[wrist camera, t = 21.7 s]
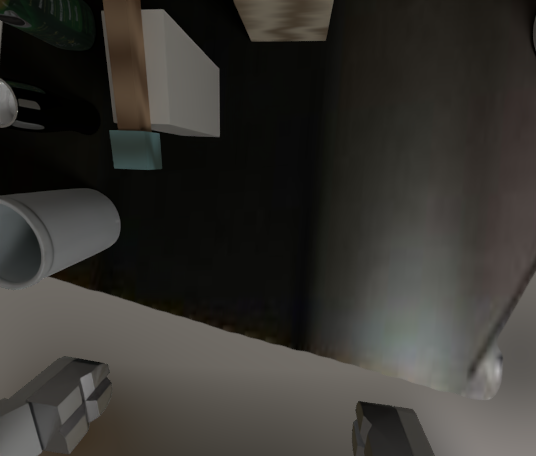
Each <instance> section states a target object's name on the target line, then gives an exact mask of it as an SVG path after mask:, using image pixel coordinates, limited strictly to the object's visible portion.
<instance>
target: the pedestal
mask: <svg viewBox="0 0 536 456" xmlns="http://www.w3.org/2000/svg"><path fill="white" fill-rule="evenodd" d="M101 15H102V24H103V32H104V41H105V50H106V58H107V67H108V76H109V84H110V93H111V102H112V111H113V119H114V123H117V116H116V107H115V99H114V90H113V82H112V74H111V65H110V57H109V48H108V40H107V32H106V23H105V15H104V11H101ZM141 15H142V27H143V38H144V50H145V62H146V73H147V85H148V97H149V108H150V120H151V130H156V131H161V132H166V133H171V134H177V135H182V136H204V137H220V109H219V68H218V67H217V66H216V65H215V64H214V63H213V62H212V61H211V60H210V59H209V58H208V56H207V55H206V54H205V53H204V52H203V51H202V50H201V49H200V48H199V47H198V46H197V45H196V44H195V43H194V42H193V40H192V39H191V38H190V37H189V36H188V35H187V34H186V33H185V32H184V31H183V30H182V29H181V28H180V27H179V26H178V24H177V23H176V22H175V21H174V20H173V19H172V18H171V17H170V16H169V15H168V14H167V13H166V12H165V11H164V10H163V9H156V10H141Z"/></svg>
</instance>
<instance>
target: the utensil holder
mask: <svg viewBox="0 0 536 456" xmlns="http://www.w3.org/2000/svg"><path fill="white" fill-rule="evenodd" d="M120 227H121V224H120V218H119V214H118V212H117V210H116V208H115V206H114V204H113V203H112V202H111V201H110V200H109V199H108V198H107V197H106V196H105V195H104V194H102V193H100V192H99V191H96V190H93V189H89V188H78V189H64V190H52V191H42V192H32V193H22V194H12V195H3V196H1V195H0V287H2V288H6V289H14V290H16V289H24V288H27V287H29V286H32V285H34V284H36V283H38V282H39V281H41V280H42V279H43V278H45V277H47V276H50V275H52V274H54V273H56V272H58V271H60V270H63V269H65V268H67V267H69V266H71V265H73V264H75V263H77V262H80V261H82V260H84V259H86V258H88V257H91V256H93V255H95V254H97V253H99V252H101V251H103V250H105V249H107V248H109V247H110V246H112V245H113V244H114V243H115V242H116V240H117V239H118V237H119V234H120Z"/></svg>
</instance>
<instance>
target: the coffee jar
mask: <svg viewBox="0 0 536 456" xmlns="http://www.w3.org/2000/svg"><path fill="white" fill-rule="evenodd" d="M0 20H1V21H3V22H5V23H7V24H9V25H11V26H14V27H16V28H18V29H20V30H22V31H24V32H26V33H28V34H30V35H33V36H35V37H37V38H39V39H41V40H43V41H45V42H47V43H49V44H51V45H53V46H55V47H58V48H61V49H66V50H73V51H82V50H88V49H90V48H91V47H92V45H93V44H94V41H95V35H96V27H95V20H94V16H93V13H92V10H91V9H90V7H89V6H88V4H87V3H85V2H84V1H83V0H0Z"/></svg>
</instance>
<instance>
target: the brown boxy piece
mask: <svg viewBox="0 0 536 456" xmlns="http://www.w3.org/2000/svg"><path fill="white" fill-rule="evenodd" d="M233 1H234V3H235V5H236V8H237V10H238V12H239V15H240V17H241V19H242V21H243V24H244V26H245V28H246V30H247V33H248V35H249V37H250V39H251V41H326V37H327V32H328V26H329V21H330V16H331V11H332V6H333V0H233Z"/></svg>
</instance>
